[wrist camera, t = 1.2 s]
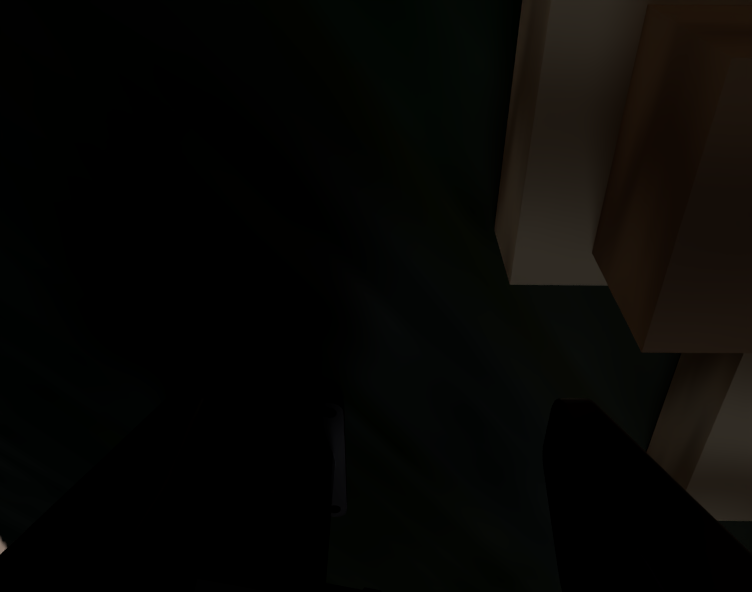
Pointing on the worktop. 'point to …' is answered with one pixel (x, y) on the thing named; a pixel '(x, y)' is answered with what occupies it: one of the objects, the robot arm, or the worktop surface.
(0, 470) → the worktop surface
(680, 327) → the walnut block
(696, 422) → the trap deck
